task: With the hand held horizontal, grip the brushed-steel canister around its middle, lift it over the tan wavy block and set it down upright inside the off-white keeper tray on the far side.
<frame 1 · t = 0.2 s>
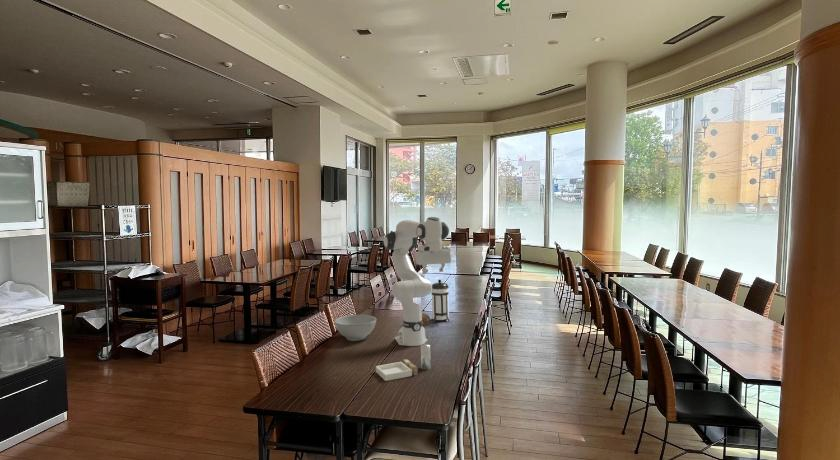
hand: (433, 272, 254), 48 cm above the table, tool pointing down, fingers open, 8 cm apart
keeper tray: (393, 373, 233), on the table
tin: (419, 326, 324), on the table
steel canister: (425, 367, 240), on the table
coffee press: (441, 320, 337), on the table
decorative bowl: (356, 338, 298), on the table
tan wavy block: (410, 370, 237), on the table
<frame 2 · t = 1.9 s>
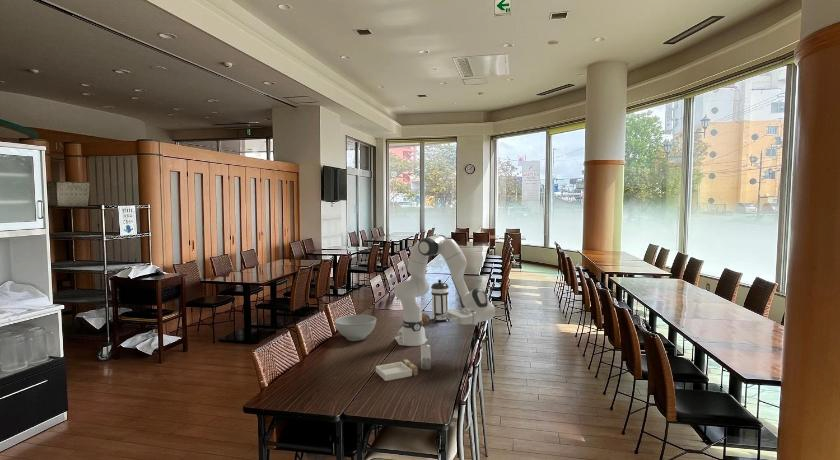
hand: (445, 318, 244), 24 cm above the table, tool horizontal, fingers open, 8 cm apart
nothing on the table moved.
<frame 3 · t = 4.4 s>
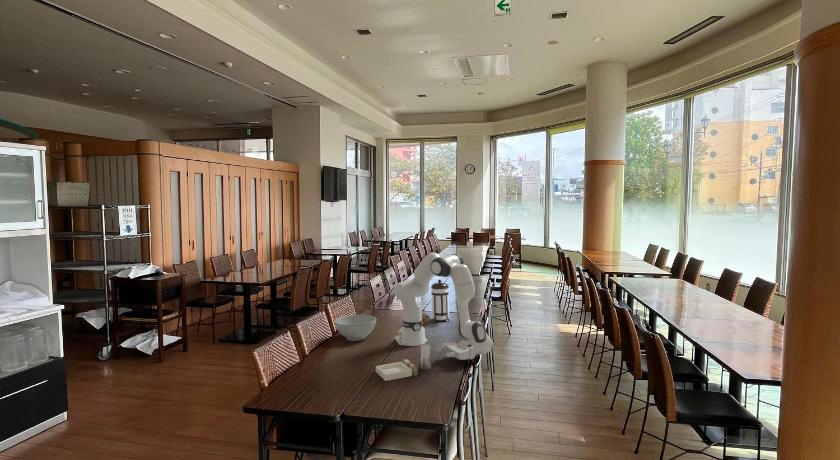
hand: (442, 352, 244), 6 cm above the table, tool horizontal, fingers open, 8 cm apart
nothing on the table moved.
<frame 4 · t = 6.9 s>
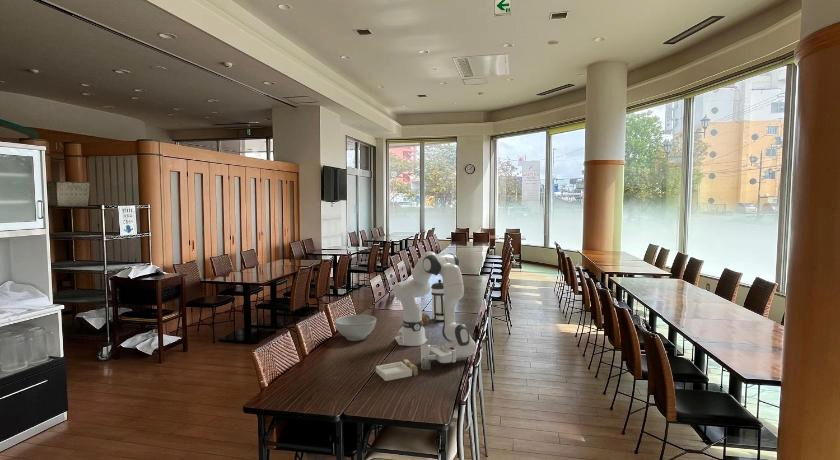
hand: (424, 355, 240), 7 cm above the table, tool horizontal, fingers closed on steel canister, 5 cm apart
steel canister: (426, 367, 240), on the table, touching gripper
everything else where it was.
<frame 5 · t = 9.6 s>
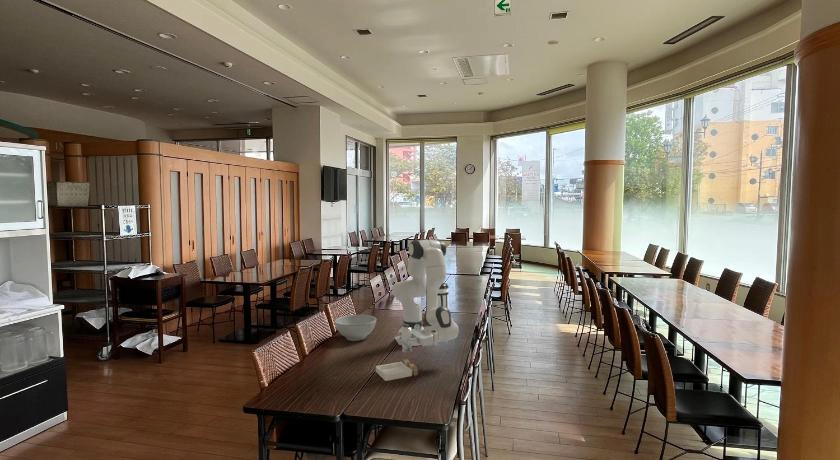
hand: (405, 338, 234), 17 cm above the table, tool horizontal, fingers closed on steel canister, 5 cm apart
steel canister: (407, 351, 235), point 10 cm above the table, touching gripper
everything else where it was.
when the fingers open (9 cm above the table, at t = 12.3 s): steel canister drops 1 cm, resting on keeper tray.
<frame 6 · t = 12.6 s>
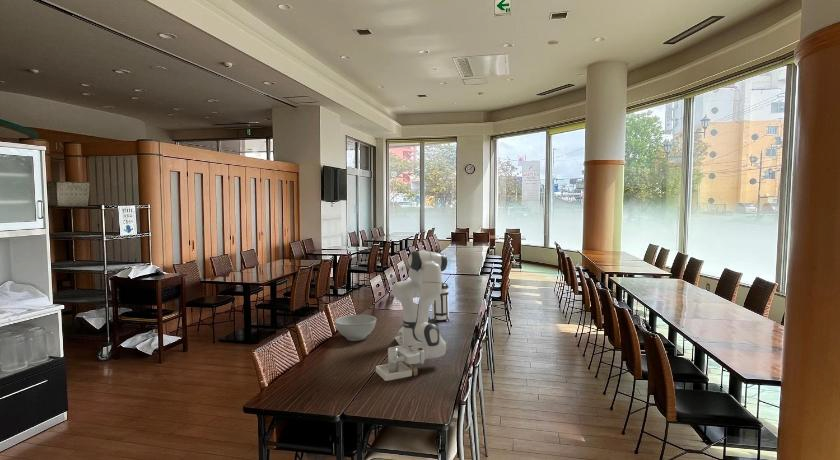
hand: (391, 356, 232), 9 cm above the table, tool horizontal, fingers open, 8 cm apart
steel canister: (393, 371, 233), point 1 cm above the table, touching keeper tray
everything else where it was.
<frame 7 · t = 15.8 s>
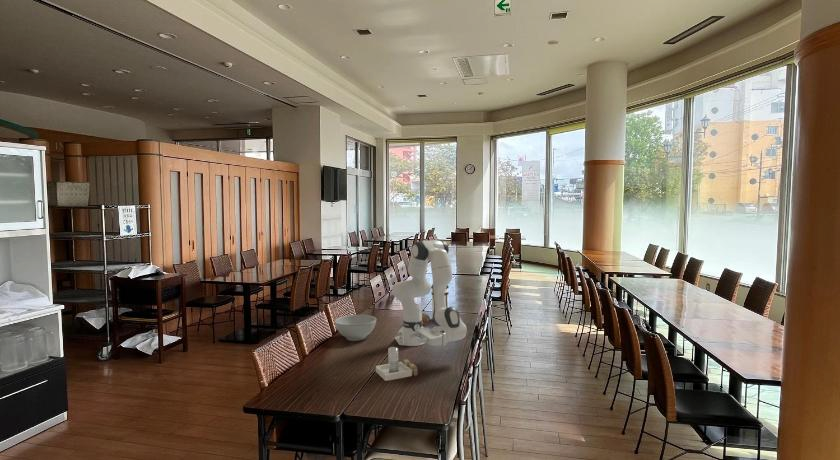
hand: (414, 338, 237), 16 cm above the table, tool horizontal, fingers open, 8 cm apart
nothing on the table moved.
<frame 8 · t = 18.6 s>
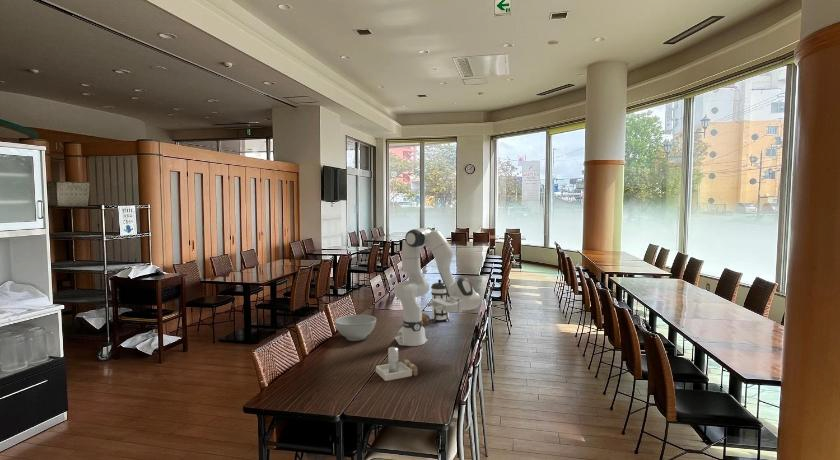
hand: (430, 306, 248), 30 cm above the table, tool horizontal, fingers open, 8 cm apart
nothing on the table moved.
at the end: steel canister inside the target area on the keeper tray (0.0 cm from its centre), point 1.0 cm above the keeper tray's base; steel canister tilted 0°; the gripper is holding nothing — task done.
